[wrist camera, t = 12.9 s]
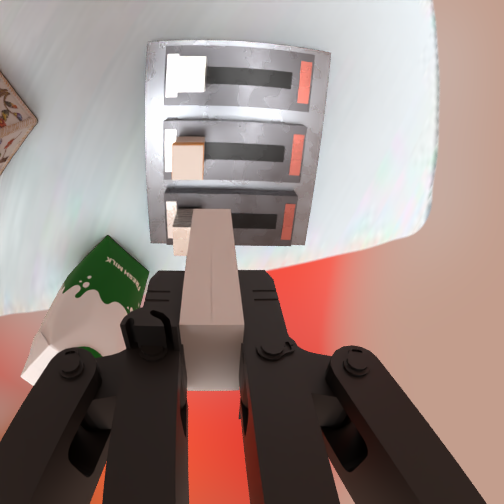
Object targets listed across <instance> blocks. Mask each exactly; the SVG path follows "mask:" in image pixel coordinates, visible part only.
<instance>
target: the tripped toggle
mask: <svg viewBox="0 0 504 504" xmlns="http://www.w3.org/2000/svg"><path fill="white" fill-rule="evenodd" d="M204 151H205V137H195V136H182V137H177V139H176V140H175V142H173V143H172V180H203V172H204Z"/></svg>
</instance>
